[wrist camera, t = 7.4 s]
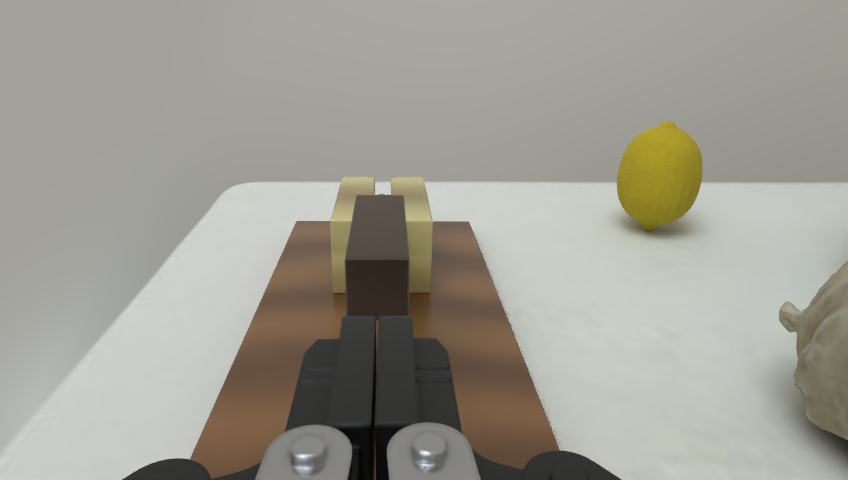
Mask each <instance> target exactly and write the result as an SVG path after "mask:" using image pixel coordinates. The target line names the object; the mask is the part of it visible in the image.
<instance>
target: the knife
mask: <svg viewBox="0 0 848 480" xmlns="http://www.w3.org/2000/svg"><path fill="white" fill-rule="evenodd" d="M409 266H410V259H409V248H408V236H407V225H406V214H405V203H404V196H403V195H385V194H378V195H357V196H356V199H355V204H354V210H353V216H352V221H351V227H350V232H349V238H348V244H347V249H346V255H345V289H346V316H376V321H377V347H378V323H379V316H409Z"/></svg>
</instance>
